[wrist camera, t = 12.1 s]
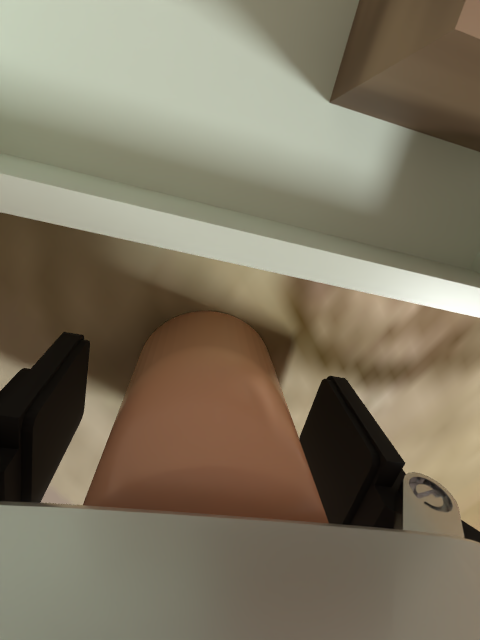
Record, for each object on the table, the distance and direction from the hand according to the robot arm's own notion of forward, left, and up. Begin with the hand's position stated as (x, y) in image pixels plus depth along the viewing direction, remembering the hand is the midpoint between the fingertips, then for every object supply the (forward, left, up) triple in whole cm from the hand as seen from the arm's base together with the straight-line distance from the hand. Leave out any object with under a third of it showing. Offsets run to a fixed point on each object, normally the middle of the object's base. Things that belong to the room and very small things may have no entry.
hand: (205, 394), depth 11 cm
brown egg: (0, 0, -2) cm, 2 cm away
